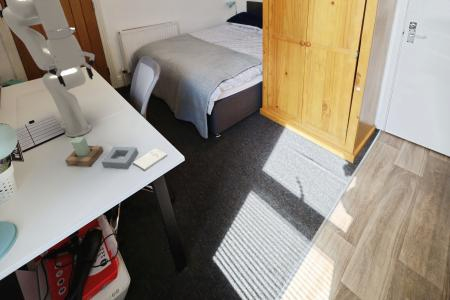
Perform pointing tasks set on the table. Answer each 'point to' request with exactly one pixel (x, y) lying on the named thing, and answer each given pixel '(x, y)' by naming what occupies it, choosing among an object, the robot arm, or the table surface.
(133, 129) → the table surface
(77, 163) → the socket
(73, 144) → the plug
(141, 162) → the external hard drive
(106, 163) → the socket
